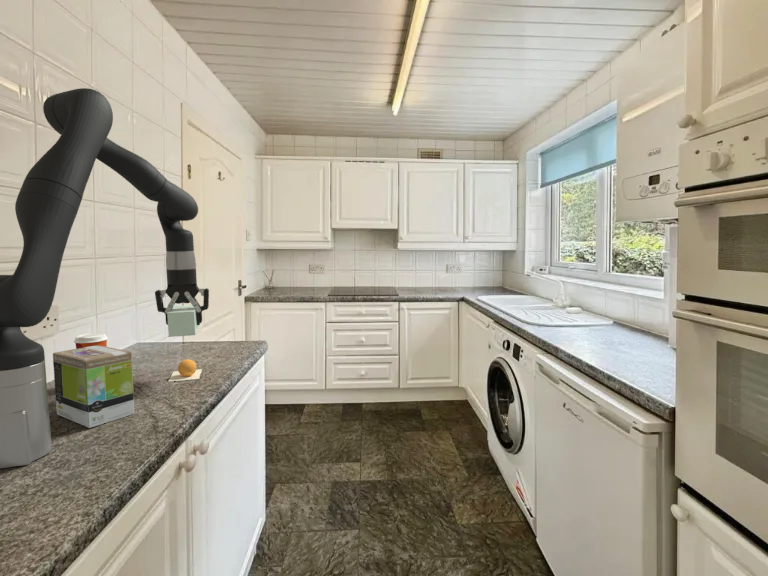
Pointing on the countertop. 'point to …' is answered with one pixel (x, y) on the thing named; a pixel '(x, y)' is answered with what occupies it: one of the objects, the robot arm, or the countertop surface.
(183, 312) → the mint green rectangular block
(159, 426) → the countertop surface
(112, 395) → the tea box
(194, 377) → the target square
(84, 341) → the paper cup
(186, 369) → the ball
